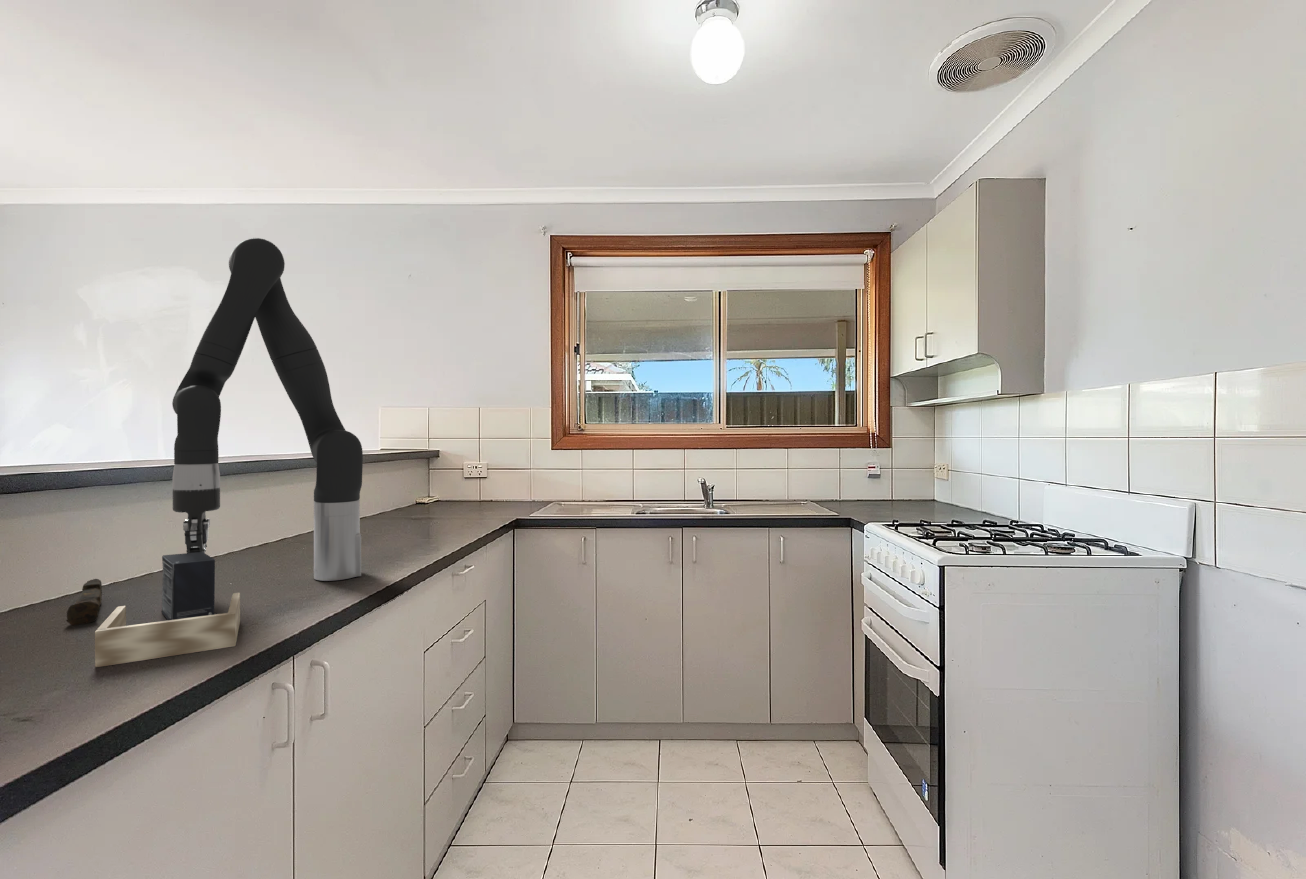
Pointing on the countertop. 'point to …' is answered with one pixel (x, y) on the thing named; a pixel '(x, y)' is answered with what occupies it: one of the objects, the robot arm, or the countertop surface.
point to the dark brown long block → (86, 604)
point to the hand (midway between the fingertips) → (197, 573)
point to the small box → (188, 585)
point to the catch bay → (164, 636)
